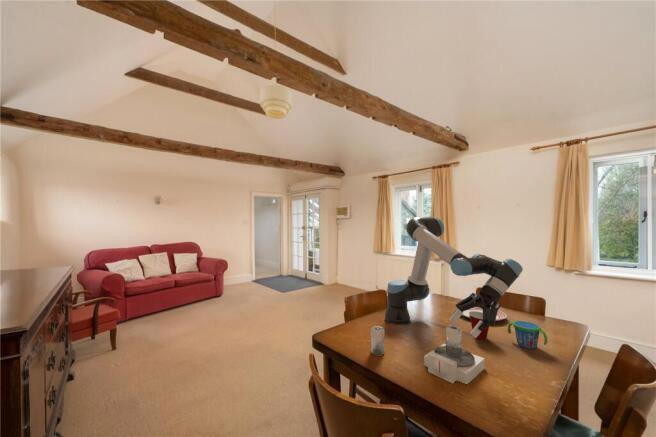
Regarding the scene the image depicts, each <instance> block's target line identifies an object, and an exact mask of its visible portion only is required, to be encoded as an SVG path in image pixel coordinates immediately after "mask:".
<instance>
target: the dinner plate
mask: <svg viewBox="0 0 656 437" xmlns="http://www.w3.org/2000/svg"><path fill="white" fill-rule="evenodd" d="M490 309H491V307H490ZM456 310H457V308H456V309H455V311H456ZM470 311H477V312H482V313H483V309H482V308H479V307H473V308H471V309H468V310H466V311H463V314H462V315H461V316H463V317H466V318H468V319H470V315H469V312H470ZM506 318H507V314H506V313H505V312H503V311H502V310H499V309H498V312H497V316H496V320H495V322H498V321H499V322H500V321H503V320H505V319H506Z"/></svg>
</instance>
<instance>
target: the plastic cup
mask: <svg viewBox="0 0 656 437" xmlns="http://www.w3.org/2000/svg"><path fill="white" fill-rule="evenodd" d="M469 315H470V318H469V319H470V324H471V325H470V326H471V329H472V330H473V329H474V327H475V326H476V325H477V324H478V323H479V321H480V320H481V321H482V319H483V313H482V312H477V311H470V312H469ZM482 322H483V321H482ZM489 329H490V325H489V326H487V327H486V328H485V329H484V331H481V333H480V334H479V335H478V336H477V338H476V339H477V340H484V341H485V340H486V339H487V338H488V333H489ZM472 330H471V331H472Z"/></svg>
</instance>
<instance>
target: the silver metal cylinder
mask: <svg viewBox="0 0 656 437" xmlns="http://www.w3.org/2000/svg"><path fill="white" fill-rule="evenodd" d="M462 330H463V329H462V327H460V326H459V325H455V324H447V325H446V326H445V344H446V354H447V355H448V356H450V357H452V358H461V357H462V349H463V338H462V337H463V336H462V333H463V332H462Z"/></svg>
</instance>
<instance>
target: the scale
mask: <svg viewBox="0 0 656 437" xmlns="http://www.w3.org/2000/svg"><path fill="white" fill-rule="evenodd" d="M440 346H446V343H442V344H441V345H439V346H438V347H440ZM435 349H436V348H435ZM435 349H433V350H431V351H430V352H428V353H427V354H425V355H423V360H424V361H423V366H425V367H427V371H428V373H430V374H432V375H434V376H436V377H438V378H440V379H443V380H445V381H447V382H448V383H450V384H455V383H456V382H459V381H460V382H459V383H461V382H462V384H463V383H465V384H467V385H469V383H470V382H471V381H473V380H474V378H476V377H477V376H478V375H479V374H480V373H482V372H483V371H484V369H485V366H486V364H485V358H484V357H482V356H479V355H476V354H473V353H471V354H472V355H473V356H474V358H475V363H474V364H473V365H472V366H469V367H457V362H455V361H453V360H451V359H448V358H446V357H443V356H441V355H438V354H436V353H434V351H435ZM455 381H456V382H455ZM454 382H455V383H454ZM465 384H464V385H465Z"/></svg>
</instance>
